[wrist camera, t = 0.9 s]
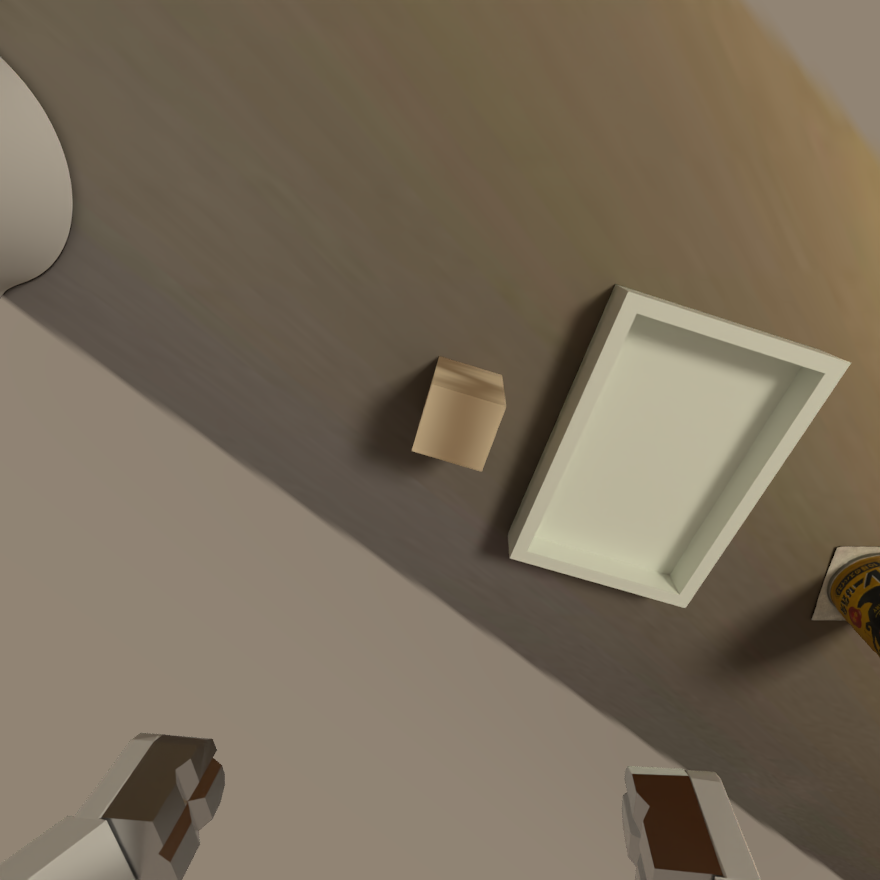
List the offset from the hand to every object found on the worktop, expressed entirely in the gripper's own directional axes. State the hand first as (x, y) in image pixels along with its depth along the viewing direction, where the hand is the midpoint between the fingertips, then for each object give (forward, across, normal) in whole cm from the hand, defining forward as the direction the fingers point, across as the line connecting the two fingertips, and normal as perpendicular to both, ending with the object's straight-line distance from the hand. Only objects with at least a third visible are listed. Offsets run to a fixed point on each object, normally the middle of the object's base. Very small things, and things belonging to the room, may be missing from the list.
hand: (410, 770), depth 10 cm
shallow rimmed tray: (+28, -12, +6) cm, 31 cm away
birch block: (+27, +1, +1) cm, 27 cm away
